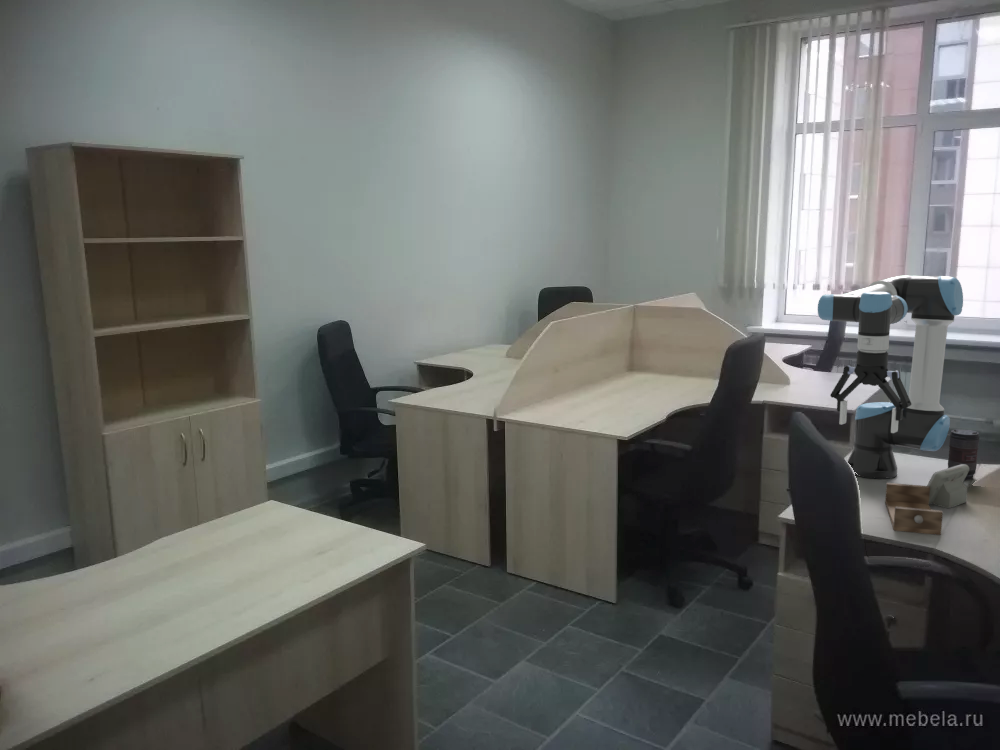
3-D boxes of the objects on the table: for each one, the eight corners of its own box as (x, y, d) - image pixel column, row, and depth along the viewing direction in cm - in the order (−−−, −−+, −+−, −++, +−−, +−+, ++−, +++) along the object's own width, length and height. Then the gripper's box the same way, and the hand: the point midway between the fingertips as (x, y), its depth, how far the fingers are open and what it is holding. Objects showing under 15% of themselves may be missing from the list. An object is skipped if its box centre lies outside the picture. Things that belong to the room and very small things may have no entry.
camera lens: (975, 475, 247) (980, 430, 245) (975, 482, 241) (979, 436, 238) (947, 471, 252) (950, 427, 249) (945, 478, 245) (949, 433, 242)
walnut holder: (926, 505, 222) (928, 485, 221) (941, 536, 200) (943, 514, 199) (884, 501, 226) (886, 481, 225) (894, 531, 204) (896, 509, 203)
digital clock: (952, 493, 231) (955, 459, 229) (979, 503, 223) (982, 468, 221) (910, 500, 226) (913, 466, 224) (936, 511, 218) (939, 475, 216)
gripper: (820, 347, 210) (816, 422, 214) (917, 357, 192) (911, 438, 196) (832, 344, 215) (828, 417, 219) (928, 353, 197) (922, 432, 201)
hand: (867, 427), depth 208 cm, fingers open, 13 cm apart
